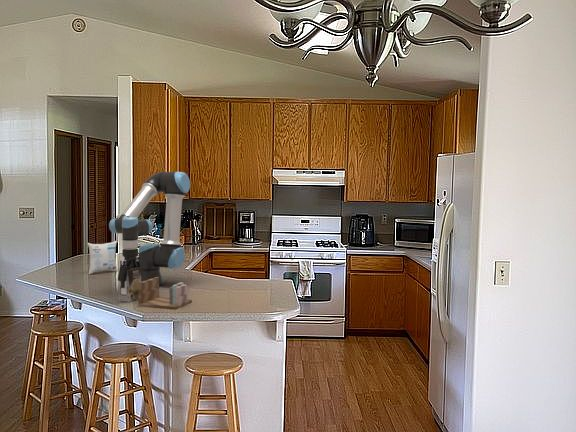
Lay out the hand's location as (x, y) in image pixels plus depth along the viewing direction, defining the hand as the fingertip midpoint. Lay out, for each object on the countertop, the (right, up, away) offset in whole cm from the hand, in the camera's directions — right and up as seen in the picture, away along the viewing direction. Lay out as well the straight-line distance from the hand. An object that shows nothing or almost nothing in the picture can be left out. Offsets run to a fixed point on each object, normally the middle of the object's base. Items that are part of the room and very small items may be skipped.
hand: (130, 291), depth 275 cm
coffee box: (0, -4, 0) cm, 4 cm away
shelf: (+19, -5, -8) cm, 21 cm away
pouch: (-38, +2, +73) cm, 82 cm away
